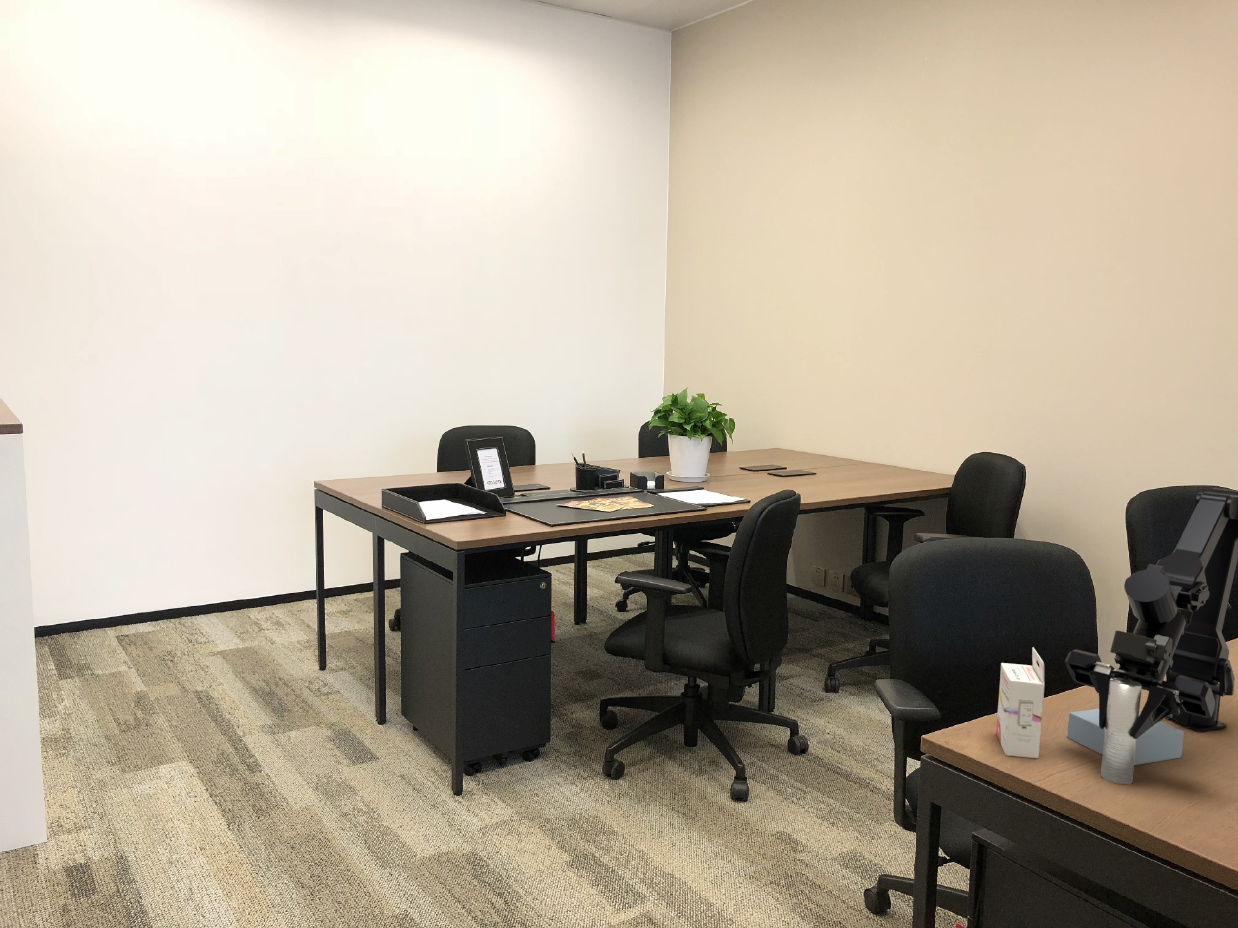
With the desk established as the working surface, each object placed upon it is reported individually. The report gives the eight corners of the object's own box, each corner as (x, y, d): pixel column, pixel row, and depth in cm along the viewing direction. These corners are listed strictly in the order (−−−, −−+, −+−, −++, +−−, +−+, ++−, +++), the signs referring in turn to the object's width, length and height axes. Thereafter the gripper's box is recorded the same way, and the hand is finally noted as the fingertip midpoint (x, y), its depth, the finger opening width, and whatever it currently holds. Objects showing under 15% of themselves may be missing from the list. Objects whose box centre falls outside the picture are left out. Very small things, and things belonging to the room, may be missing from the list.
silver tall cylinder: (1115, 769, 138) (1124, 676, 137) (1139, 781, 135) (1148, 686, 133) (1094, 773, 137) (1103, 679, 135) (1117, 785, 133) (1126, 688, 132)
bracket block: (1120, 729, 154) (1122, 705, 153) (1181, 757, 144) (1184, 731, 143) (1067, 736, 150) (1069, 712, 149) (1125, 766, 140) (1128, 740, 139)
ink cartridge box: (993, 733, 151) (1001, 642, 149) (1027, 737, 150) (1035, 645, 148) (1004, 756, 142) (1012, 660, 140) (1039, 759, 141) (1048, 663, 139)
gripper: (1075, 596, 142) (1036, 683, 136) (1217, 625, 129) (1180, 723, 123) (1092, 637, 149) (1055, 723, 143) (1229, 669, 135) (1194, 765, 129)
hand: (1117, 732), depth 134 cm, fingers closed on silver tall cylinder, 4 cm apart
